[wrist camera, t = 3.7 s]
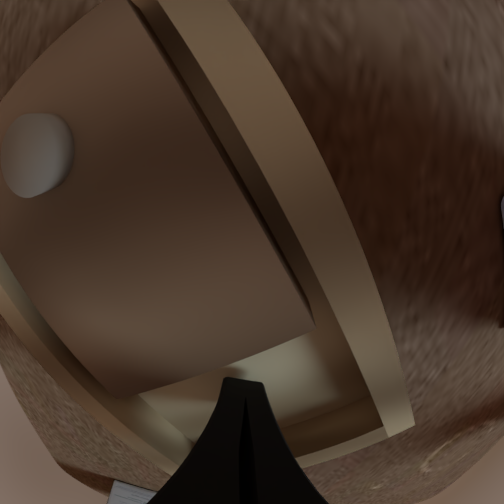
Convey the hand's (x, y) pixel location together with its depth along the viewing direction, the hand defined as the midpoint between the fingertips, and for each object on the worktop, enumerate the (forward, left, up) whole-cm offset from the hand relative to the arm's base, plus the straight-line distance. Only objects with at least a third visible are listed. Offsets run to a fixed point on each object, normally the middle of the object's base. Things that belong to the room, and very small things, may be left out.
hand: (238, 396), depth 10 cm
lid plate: (+7, 0, -1) cm, 7 cm away
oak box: (+4, 0, -4) cm, 6 cm away
